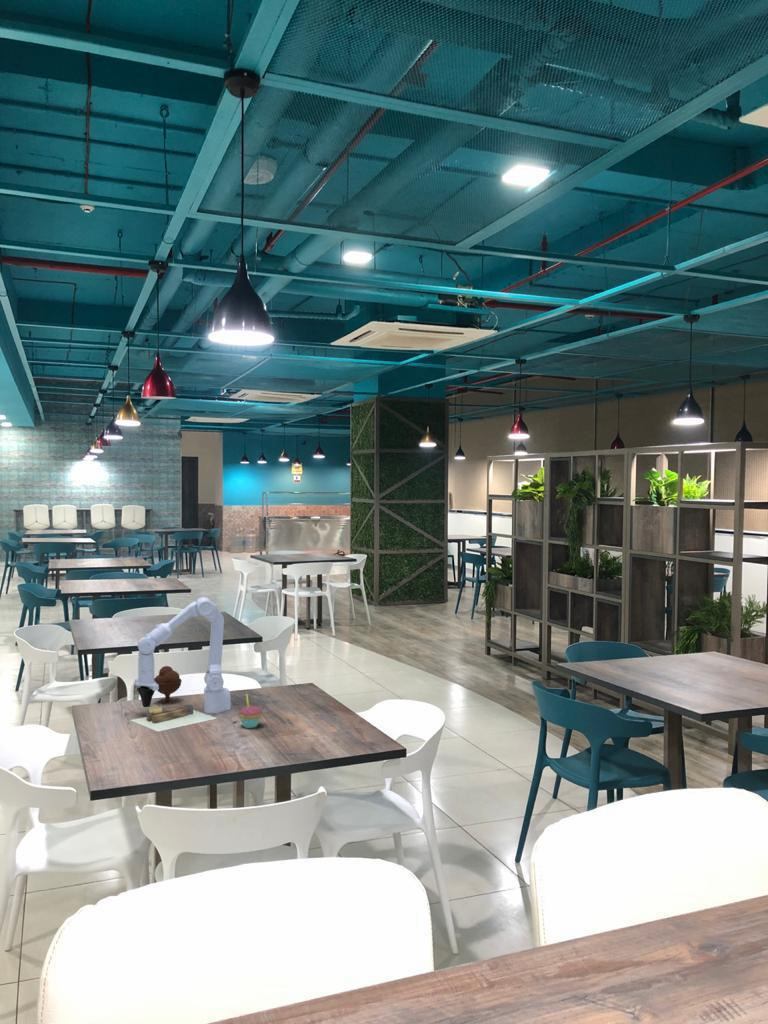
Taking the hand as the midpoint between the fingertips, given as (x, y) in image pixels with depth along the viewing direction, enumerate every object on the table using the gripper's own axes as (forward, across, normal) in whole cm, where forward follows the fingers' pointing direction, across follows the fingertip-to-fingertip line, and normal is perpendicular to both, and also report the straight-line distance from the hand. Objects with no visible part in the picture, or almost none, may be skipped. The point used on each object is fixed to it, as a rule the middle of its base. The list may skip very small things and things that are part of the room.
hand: (146, 706), depth 300 cm
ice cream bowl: (+5, -13, +16) cm, 21 cm away
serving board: (+4, +11, +5) cm, 13 cm away
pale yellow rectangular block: (+1, +7, 0) cm, 7 cm away
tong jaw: (+3, +10, +4) cm, 11 cm away
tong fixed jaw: (+3, +8, +6) cm, 10 cm away
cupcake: (+5, +35, +22) cm, 42 cm away
